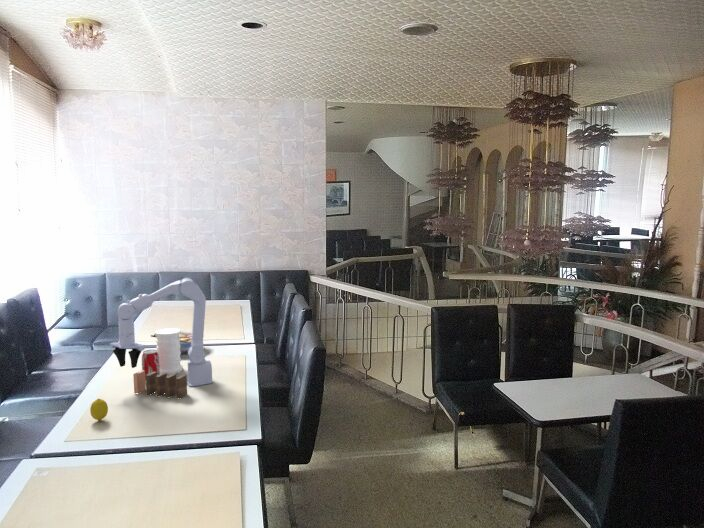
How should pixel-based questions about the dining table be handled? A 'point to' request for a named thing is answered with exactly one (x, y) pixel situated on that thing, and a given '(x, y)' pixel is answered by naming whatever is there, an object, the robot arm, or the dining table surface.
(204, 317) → the robot arm
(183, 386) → the domino
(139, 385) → the salmon pink rectangular block
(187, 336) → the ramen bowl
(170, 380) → the domino
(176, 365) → the decorative container
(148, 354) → the soda can
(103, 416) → the lemon
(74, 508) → the dining table surface
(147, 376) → the domino
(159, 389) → the domino
